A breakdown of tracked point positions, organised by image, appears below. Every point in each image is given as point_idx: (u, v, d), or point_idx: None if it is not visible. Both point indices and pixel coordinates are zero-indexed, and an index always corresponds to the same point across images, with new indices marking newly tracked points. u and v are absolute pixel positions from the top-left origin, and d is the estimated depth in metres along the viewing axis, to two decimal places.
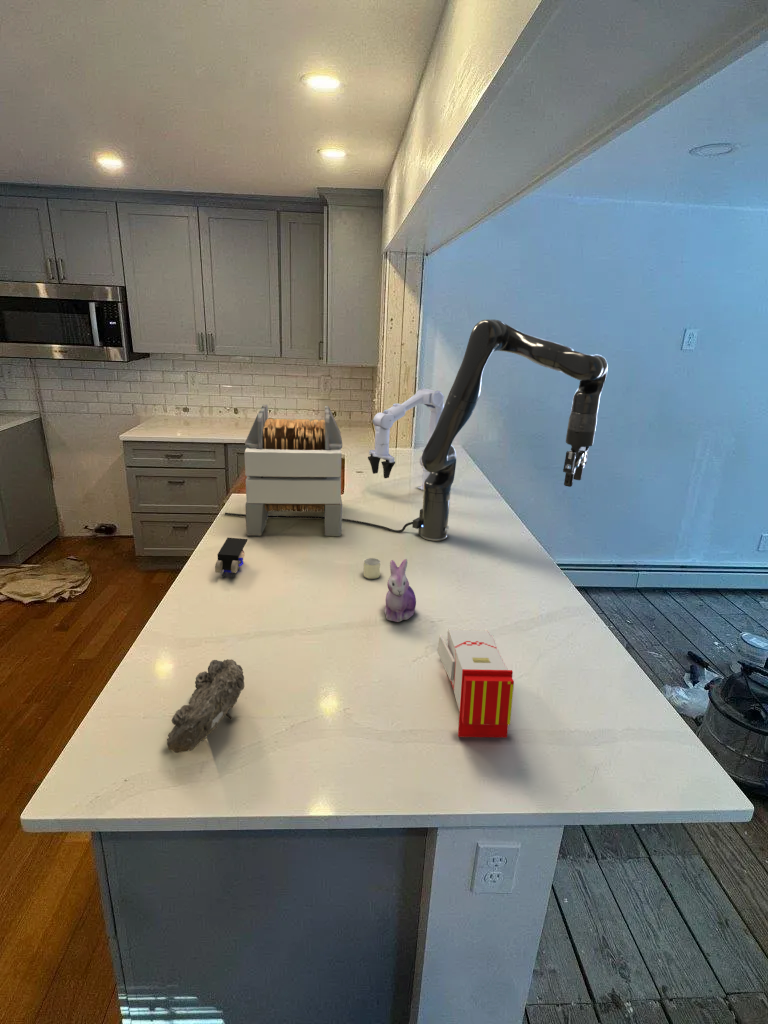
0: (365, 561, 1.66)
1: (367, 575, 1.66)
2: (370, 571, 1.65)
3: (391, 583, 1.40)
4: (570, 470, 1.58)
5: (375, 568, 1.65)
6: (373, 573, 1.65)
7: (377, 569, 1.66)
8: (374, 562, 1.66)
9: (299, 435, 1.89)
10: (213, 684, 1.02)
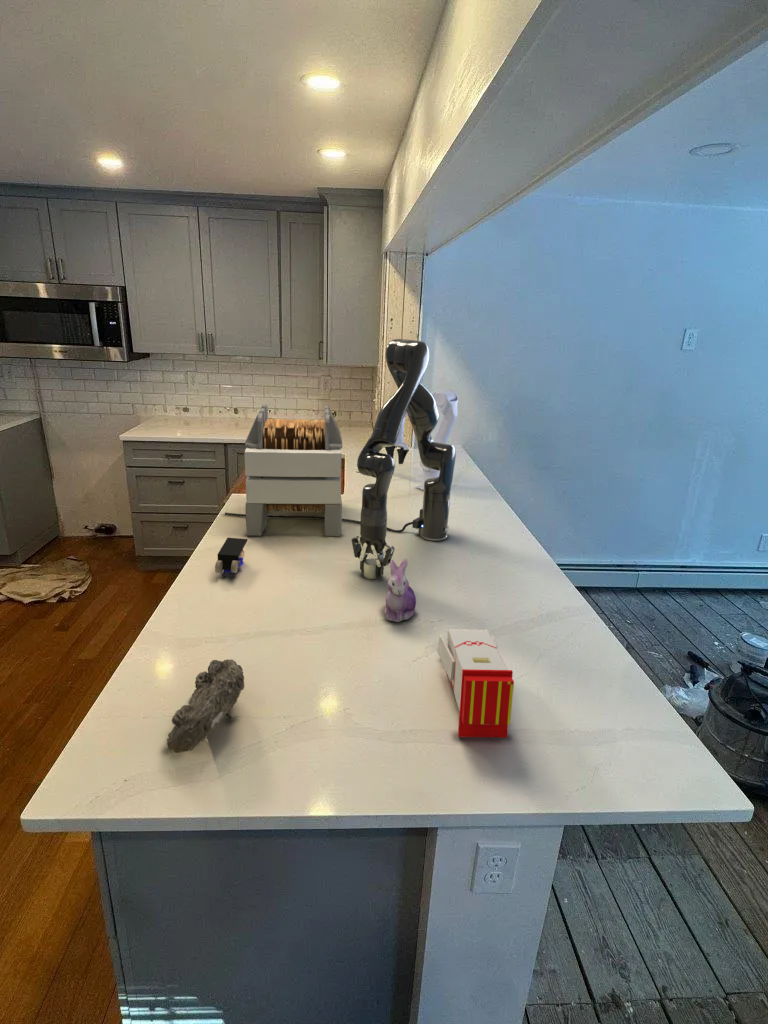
0: (365, 561, 1.66)
1: (367, 575, 1.66)
2: (370, 571, 1.65)
3: (391, 583, 1.40)
4: (389, 562, 1.64)
5: (375, 568, 1.65)
6: (373, 573, 1.65)
7: None
8: (374, 562, 1.66)
9: (299, 435, 1.89)
10: (213, 684, 1.02)
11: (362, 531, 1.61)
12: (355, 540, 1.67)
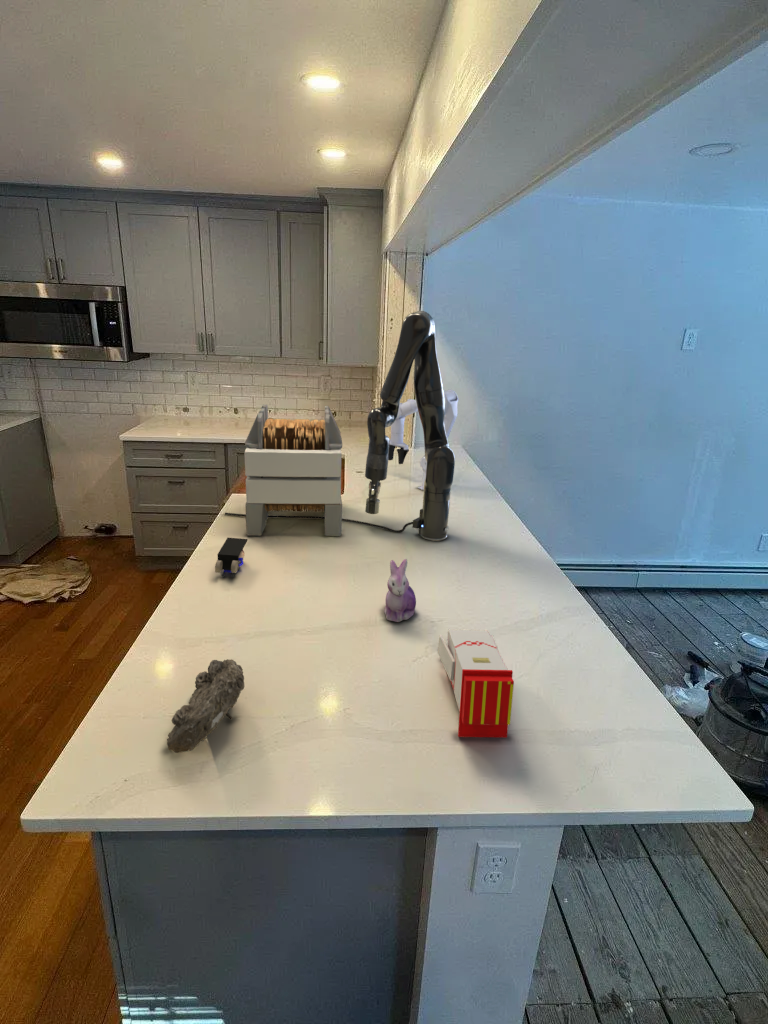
0: None
1: None
2: (366, 505, 2.00)
3: (391, 583, 1.40)
4: (374, 502, 1.94)
5: (368, 504, 1.99)
6: (367, 508, 1.99)
7: None
8: None
9: (299, 435, 1.89)
10: (213, 684, 1.02)
11: None
12: None
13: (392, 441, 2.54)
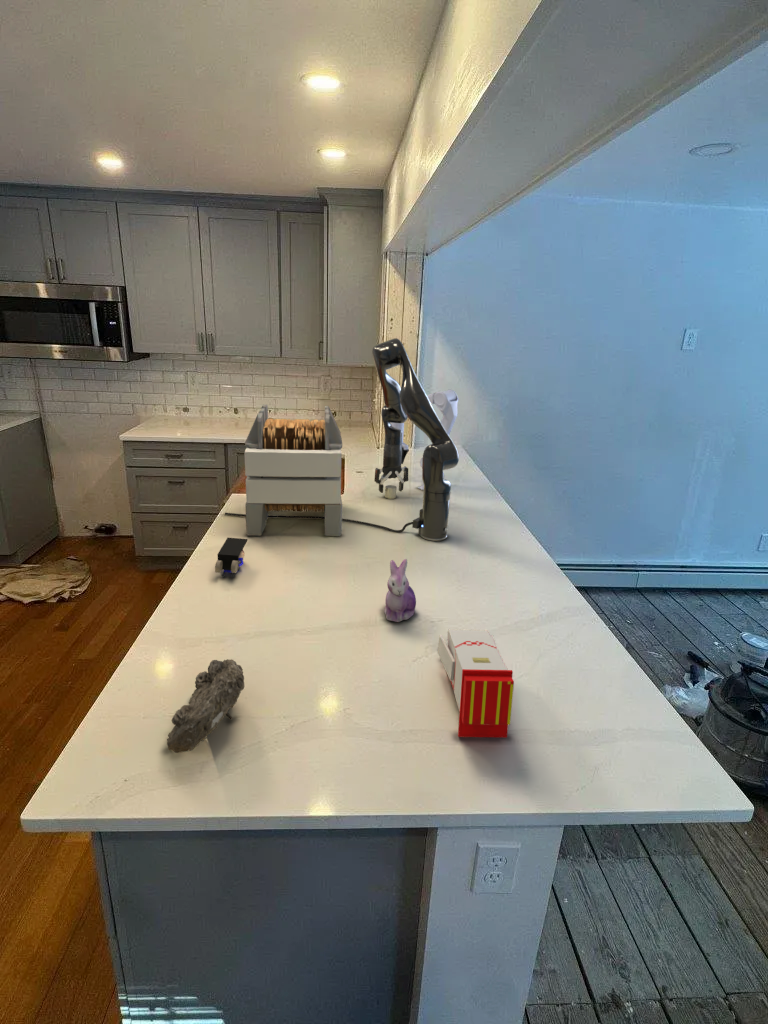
0: (393, 485, 2.38)
1: None
2: None
3: (391, 583, 1.40)
4: (376, 481, 2.33)
5: None
6: None
7: (385, 490, 2.37)
8: (388, 486, 2.37)
9: (299, 435, 1.89)
10: (213, 684, 1.02)
11: None
12: None
13: None
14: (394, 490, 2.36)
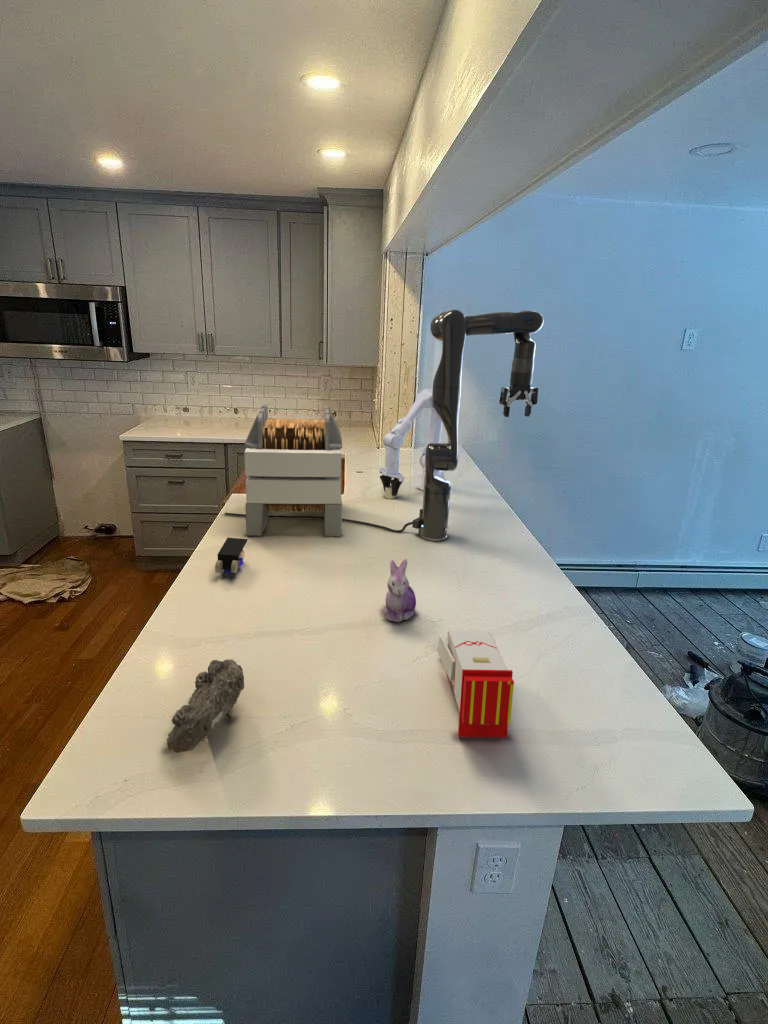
0: None
1: None
2: None
3: (391, 583, 1.40)
4: (502, 402, 2.01)
5: None
6: None
7: (385, 490, 2.37)
8: (388, 486, 2.37)
9: (299, 435, 1.89)
10: (213, 684, 1.02)
11: None
12: None
13: (386, 472, 2.33)
14: None
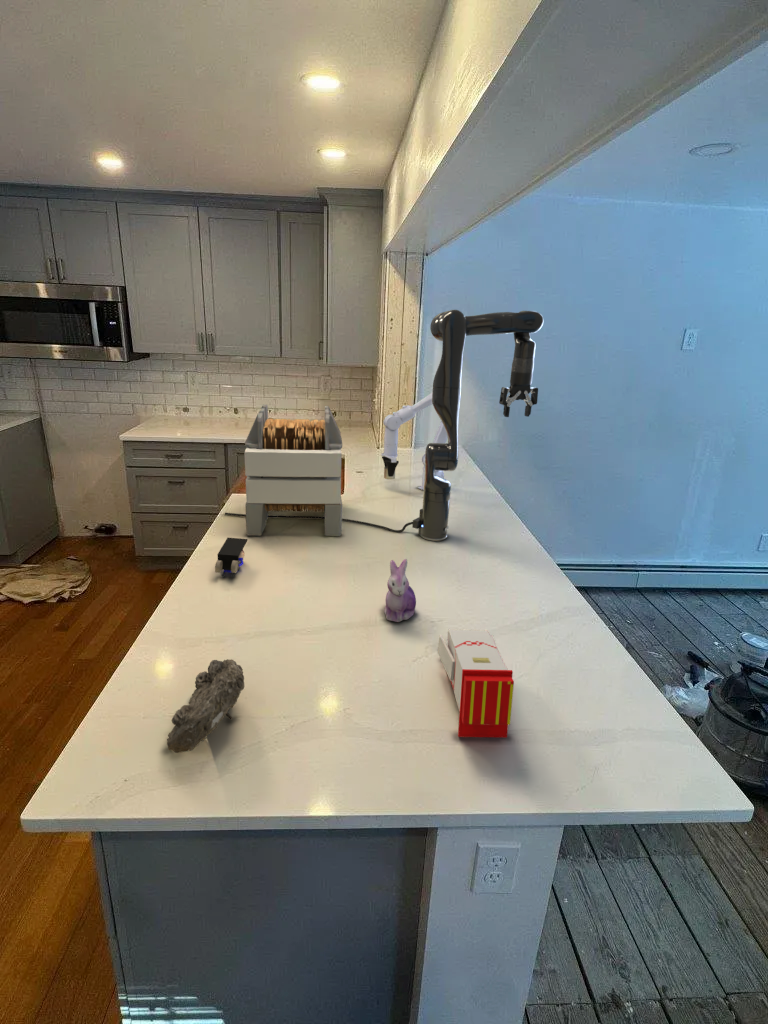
0: None
1: None
2: None
3: (391, 583, 1.40)
4: (502, 402, 2.01)
5: None
6: None
7: None
8: None
9: (299, 435, 1.89)
10: (213, 684, 1.02)
11: None
12: None
13: (384, 452, 2.40)
14: None
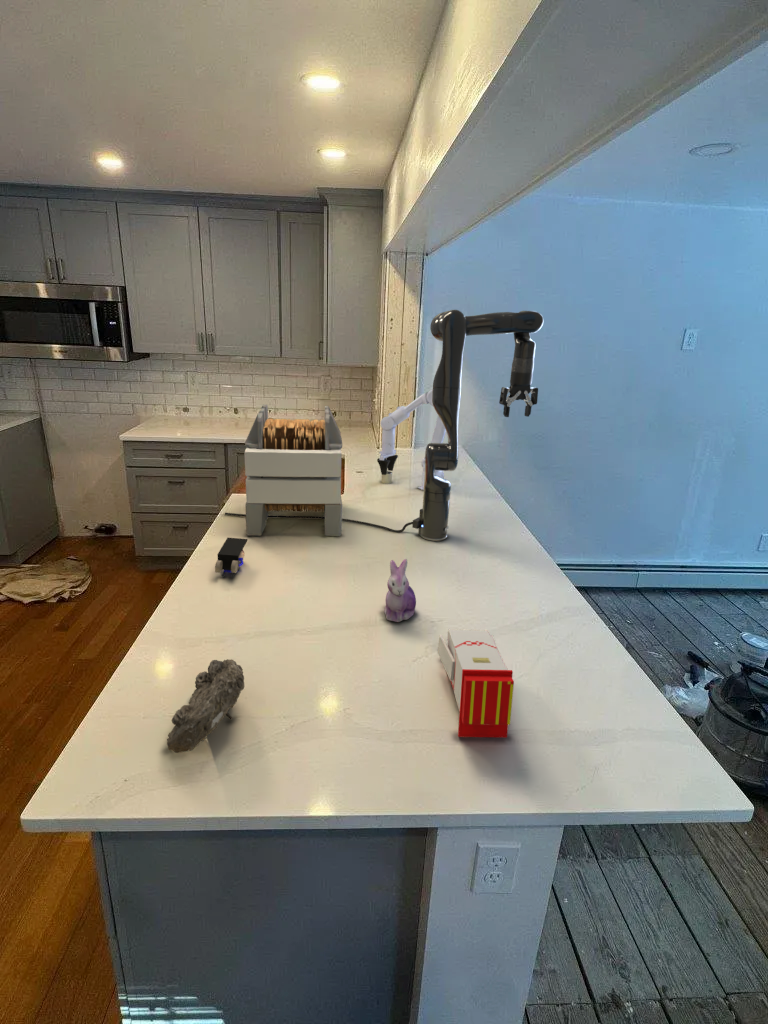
0: (391, 472, 2.57)
1: None
2: None
3: (391, 583, 1.40)
4: (502, 402, 2.01)
5: None
6: None
7: None
8: None
9: (299, 435, 1.89)
10: (213, 684, 1.02)
11: None
12: None
13: None
14: (385, 475, 2.56)
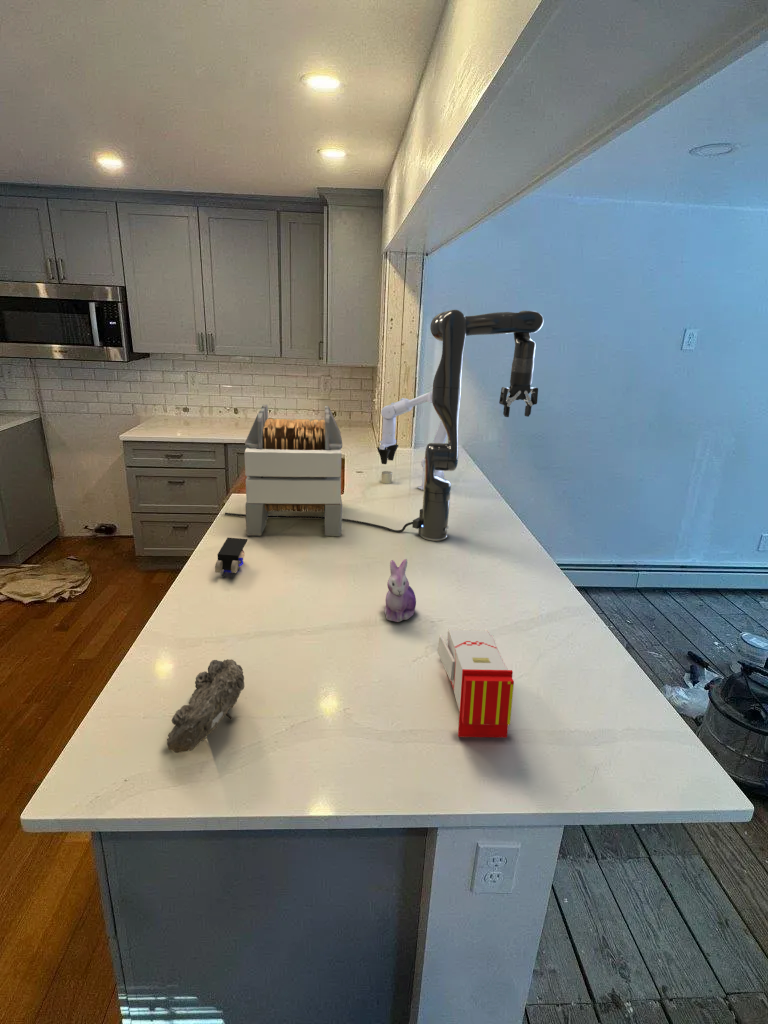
0: (391, 472, 2.57)
1: None
2: None
3: (391, 583, 1.40)
4: (502, 402, 2.01)
5: None
6: None
7: None
8: (385, 471, 2.58)
9: (299, 435, 1.89)
10: (213, 684, 1.02)
11: None
12: None
13: None
14: (385, 475, 2.56)
